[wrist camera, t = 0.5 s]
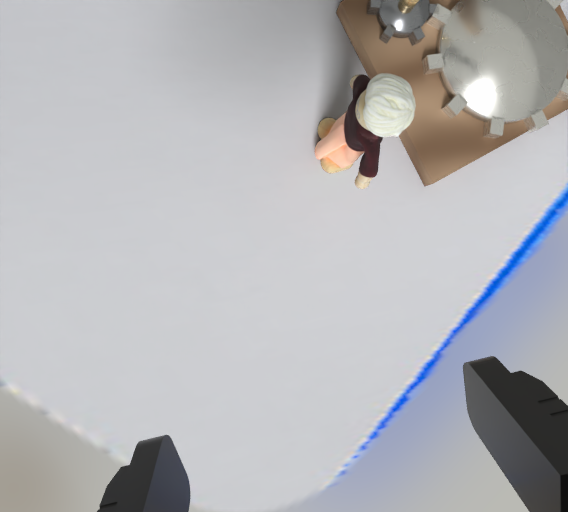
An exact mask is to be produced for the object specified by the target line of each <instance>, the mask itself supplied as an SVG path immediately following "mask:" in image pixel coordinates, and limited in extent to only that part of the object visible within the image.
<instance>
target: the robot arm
mask: <svg viewBox="0 0 568 512" xmlns="http://www.w3.org/2000/svg"><path fill="white" fill-rule="evenodd" d="M463 373H464V383H465V391H466V402H467V410H468V414H469V417H470V420H471V423H472V425H473V427H474V429H475V431H476V433H477V434H478V435H479V437H480V439H481V440H482V442H483V443H484V445H485V446H486V448H487V449H488V451H489V452H490V454H491V455H492V457H493V458H494V460H495V461H496V462H497V464H498V466H499V467H500V469H501V470H502V472H503V473H504V474H505V476H506V477H507V479H508V480H509V482H510V483H511V485H512V486H513V488H514V489H515V491H516V492H517V494H518V495H519V497H520V498H521V500H522V501H523V502H524V504H525V506H526V507H527V509H528V510H529V511H530V512H568V406H567V405H566V404H565V403H564V402H563V401H562V400H561V399H560V400H559V398H558V396H557V395H556V394H555V393H554V392H553V391H552V390H551V389H550V388H549V387H548V386H547V385H546V384H545V383H544V382H543V381H540V380H539V379H537V378H535V377H533V376H531V375H529V374H527V373H525V372H523V371H518V372H514V373H510V372H509V371H508V370H507V369H506V368H505V367H504V366H503V364H502V363H501V362H500V361H499V360H498V359H497V358H496V357H494V356H490V357H487V358H482V359H478V360H474V361H470V362H466V363H464V365H463ZM189 505H190V485H189V479H188V476H187V473H186V471H185V469H184V467H183V464H182V462H181V460H180V457H179V455H178V453H177V451H176V448H175V446H174V444H173V441H172V439H171V438H170V436H168V435H164V436H160V437H156V438H151V439H147V440H143V441H140V442H139V443H138V444H137V446H136V448H135V451H134V454H133V457H132V460H131V463H130V465H128V466H124V467H121V468H120V469H119V471H118V472H117V473H116V475H115V476H114V477H113V479H112V480H111V481H110V483H109V484H108V486H107V488H106V490H105V493H104V495H103V498H102V501H101V503H100V510H98V511H97V512H188V511H189Z"/></svg>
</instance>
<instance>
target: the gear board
mask: <svg viewBox="0 0 568 512" xmlns="http://www.w3.org/2000/svg"><path fill="white" fill-rule="evenodd" d="M369 1H370V0H343V1H341V2H340V5H339V7H338V9H337V12H336V14H337V15H338V17H339V19H340V21H341V23H342V25H343V27H344V29H345V31H346V33H347V35H348V37H349V39H350V41H351V43H352V45H353V47H354V49H355V51H356V53H357V55H358V57H359V59H360V61H361V63H362V65H363V66H364V68H365V70H366V72H367V74H368V76H369V78H370V80H371V79H372V78H373V77H375V76H376V75H378V74H381V73H384V74H393V75H396V76H399V77H401V78H403V79H404V80H406V81H407V82H408V83H409V84H410V86H411V88H412V92H413V96H414V98H415V104H416V107H415V111H414V118H413V121H412V122H411V124H410V125H409V126H408V127H407V128H406V129H405V130H403V131H402V132H401V134H400V135H399V137H400V139H401V141H402V143H403V145H404V147H405V149H406V151H407V153H408V155H409V157H410V159H411V161H412V163H413V165H414V167H415V168H416V170H417V172H418V174H419V176H420V178H421V180H422V182H423V184H424V186H427V185H430V184H433V183H435V182H437V181H439V180H440V179H442V178H444V177H446V176H448V175H449V174H451V173H453V172H455V171H457V170H458V169H460V168H462V167H464V166H466V165H467V164H469V163H471V162H473V161H475V160H476V159H478V158H480V157H482V156H484V155H486V154H487V153H489V152H491V151H493V150H495V149H496V148H498V147H500V146H502V145H504V144H505V143H507V142H509V141H511V140H513V139H514V138H516V137H518V136H520V135H522V134H523V133H525V132H527V131H528V130H527V128H526V126H525V124H524V122H523V120H521V121H518V122H514V123H509V124H504V129H503V136H500V137H498V138H496V139H493V138H487V137H483V129H484V121H481V120H478V119H476V118H474V117H472V116H470V115H469V114H467V113H465V112H464V111H463V110H461V111H460V112H459V113H458V115H456V116H455V117H453V118H451V119H450V118H449V117H448V116H447V115H446V114H445V113H444V112H443V111H442V110H441V109H442V108H443V107H444V106H445V105H446V104H447V102H448V101H449V100H450V99H451V98H450V97H449V95H448V94H447V92H446V90H445V89H444V87H443V85H442V82H441V80H440V77H439V74H438V73H432V74H425V75H424V73H423V67H422V60H423V59H424V58H425V57H426V56H427V55H432V54H436V52H435V51H436V42H437V37H438V33H439V30H438V29H436V28H434V27H433V26H431V25H429V24H427V23H426V22H427V20H426V22H425V23H424V25H423V26H422V27H421V29H422V31H423V33H424V35H425V37H424V38H423V39H422V40H421V42H420V43H418V44H416V45H414V46H412V45H411V43H410V41H409V39H408V38H396V37H393V36H392V37H391V39H390V40H389V41H388V43H387V44H386V43H384V42H383V41H381V40H380V39H379V38H380V37H381V35H382V34H383V32H384V30H383V29H382V28H381V26H380V25H379V23H378V20H377V17H376V15H369V14H367V4H368V2H369ZM459 1H460V0H429V3H430V4H440V5H441V6H443V7H445V8H446V9H448V10H450V11H451V9H452V8H453V7H454V6H455V5H456V4H457V3H458V2H459ZM555 11H556V12H557V14H558V15H559V17H560V19H561V21H562V23H563V25H564V28H565V30H566V34H567V36H568V21H567V19H566V17H565V15H564V13H563V11H562V9H561V7H560V4H559V6H558V7H557V8H556V9H555ZM566 78H567V79H568V71H567V75H566ZM567 109H568V99H567V100H565V101H562V100H560V99H558V98H557V97H555V98H554V99H553V101H552V102H551V103H550V104H549V105H548V106H546V107H545V108H544V109H543V110H542V111H543V113H544V115H545V117H546V119H547V120H549V119H551V118H552V117H554V116H556V115H558V114H560V113H561V112H563V111H565V110H567Z"/></svg>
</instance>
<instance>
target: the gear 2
mask: <svg viewBox="0 0 568 512" xmlns="http://www.w3.org/2000/svg"><path fill="white" fill-rule="evenodd" d="M562 1H563V0H460V1H459V2H458V3H457V4H456V5H455V6H454V7H453V8H452V9H451V11H450V10H448V9H446V8H445V7H443V6H441V5H440V4H437V7H438V8H437V7H436V10H435V11H434V13H433V14H432V15H431V17H430V18H429V19H428V20H427V22H426V23H427V24H429V25H431V26H433V27H434V28H436V29H438V30H439V33H438V37H437V42H436V51H435V52H436V54H432V55H427V56H426V57H425V58H424V59H423V60H422V67H423V73H424V75H425V74H432V73H438V74H439V77H440V80H441V82H442V85H443V87H444V89H445V90H446V92H447V94H448V95H449V97H450V98H451V99H450V100H449V101H448V102H447V104H446V105H445V106H444V107H443V108H442V109H441V110H442V111H443V112H444V113H445V114H446V115H447V116H448V117H449V118H450V119H451V118H453V117H455V116H456V115H458V113H459V112H460V111H461V110H463V111H464V112H465V113H467V114H469V115H470V116H472V117H474V118H476V119H478V120H481V121H484V129H483V137H487V138H493V139H496V138H498V137H500V136H503V129H504V124H509V123H514V122H518V121H521V120H523V122H524V124H525V126H526V128H527V130H528V132H529V133H531V132H533V131H536V130H538V129H540V128H542V127H543V126H545V125H547V124H549V123H548V121H547V119H546V117H545V115H544V113H543V111H542V110H543V109H544V108H545V107H546V106H548V105H549V104H550V103H551V102H552V101H553V99H554V98H555V97H557V98H558V99H560V100H562V101H565V100H567V99H568V79H567V78H566V75H567V71H568V36H567V34H566V30H565V28H564V25H563V23H562V21H561V19H560V17H559V15H558V14H557V12H556V11H555V9H556V8H557V7H558V6H559V4H560V3H561V2H562ZM438 9H439V11H438Z"/></svg>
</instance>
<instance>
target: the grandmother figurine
mask: <svg viewBox="0 0 568 512" xmlns="http://www.w3.org/2000/svg"><path fill="white" fill-rule="evenodd" d="M350 86H351V88H352V89H353V100H352V102H351V103H350V105H349V107H348V110H347V111H346V112H345V113H344V114H343V115H342V116H341V117H340V118H339V119H338V120H335V119H333V118H325V119H323V120H322V121H321V122H320V123H319V126H318V135H319V137H320V138H321V140H320V141H319V142H318V143H317V145H316V147H315V156H316V158H317V159H318V160H321V166H322V168H323V169H324V170H325V171H326V172H328V173H336V172H339V171H342V170H346V169H349V168H350V167H351V166H352V165H353V163H354V162H355V161H356V160H357V159H358V158H359V156H360V155H362V154H363V153H364V152H365V153H364V155H363V156H362V159H361V162H360V167H359V172H358V176H357V177H356V179H355V185H356V186H357V187H358V188H360V189H365V188H367V187H368V186H369V183H370V181H371V180H372V178H373V177H375V176H376V175H377V172H378V162H379V153H380V143H381V141H382V139H383V137H390V136H396V137H398V136H399V135H400V134H401V132H402V131H403V130H405V129H406V128H407V127H408V126H409V125H410V124H411V122H412V121H413V118H414V111H415V107H416V104H415V98H414V96H413V92H412V88H411V86H410V84H409V83H408V82H407V81H406V80H404V79H403V78H401V77H399V76H396V75H393V74H384V73H381V74H378V75H376V76H375V77H373V78H372V79H371V80H370V78H369V77H368V76H366V75H355V76H354V77H352V79H351V81H350Z"/></svg>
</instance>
